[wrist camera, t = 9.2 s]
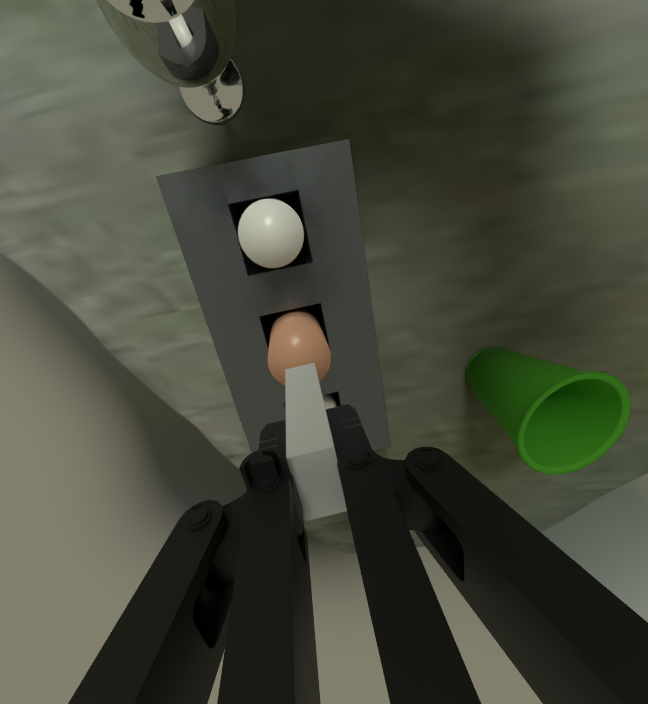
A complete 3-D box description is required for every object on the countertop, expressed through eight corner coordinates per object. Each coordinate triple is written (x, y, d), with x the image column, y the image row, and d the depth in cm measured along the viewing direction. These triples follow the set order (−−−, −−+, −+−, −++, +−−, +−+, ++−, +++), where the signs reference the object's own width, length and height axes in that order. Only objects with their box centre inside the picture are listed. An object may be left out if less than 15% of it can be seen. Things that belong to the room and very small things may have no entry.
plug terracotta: (266, 310, 25) (260, 337, 19) (314, 300, 25) (324, 323, 19) (277, 355, 27) (276, 394, 20) (323, 345, 27) (336, 380, 20)
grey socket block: (185, 189, 24) (156, 176, 19) (334, 160, 25) (349, 138, 19) (264, 437, 33) (260, 478, 28) (372, 411, 34) (390, 446, 28)
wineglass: (153, 93, 22) (20, -51, 11) (194, 10, 21) (90, -248, 10) (226, 151, 24) (175, 79, 13) (267, 79, 22) (252, -74, 11)
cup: (451, 414, 35) (519, 488, 25) (442, 342, 32) (518, 393, 22) (526, 392, 35) (625, 457, 25) (526, 318, 32) (639, 357, 22)
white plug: (243, 213, 25) (229, 206, 18) (292, 203, 25) (295, 192, 18) (257, 263, 26) (248, 273, 20) (303, 254, 26) (309, 261, 20)
